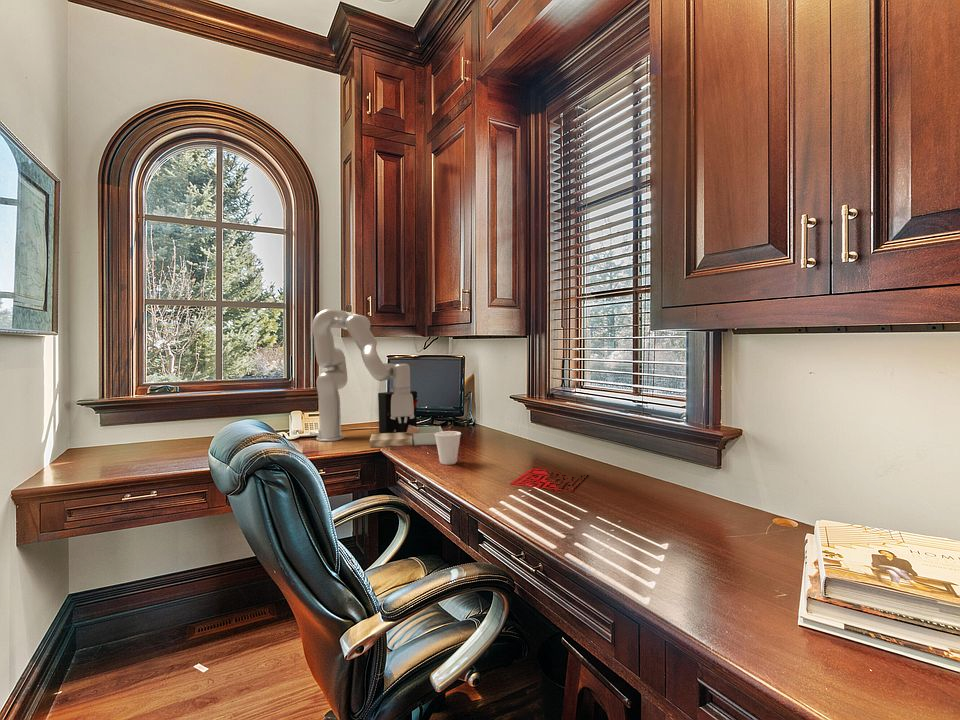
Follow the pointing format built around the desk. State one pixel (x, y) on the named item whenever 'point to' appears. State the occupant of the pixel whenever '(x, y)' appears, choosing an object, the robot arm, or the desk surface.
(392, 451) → the desk surface
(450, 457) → the cup
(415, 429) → the tile terracotta
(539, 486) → the maze puzzle
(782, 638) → the desk surface
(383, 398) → the electrical component
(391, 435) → the board
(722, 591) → the desk surface
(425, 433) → the tray
